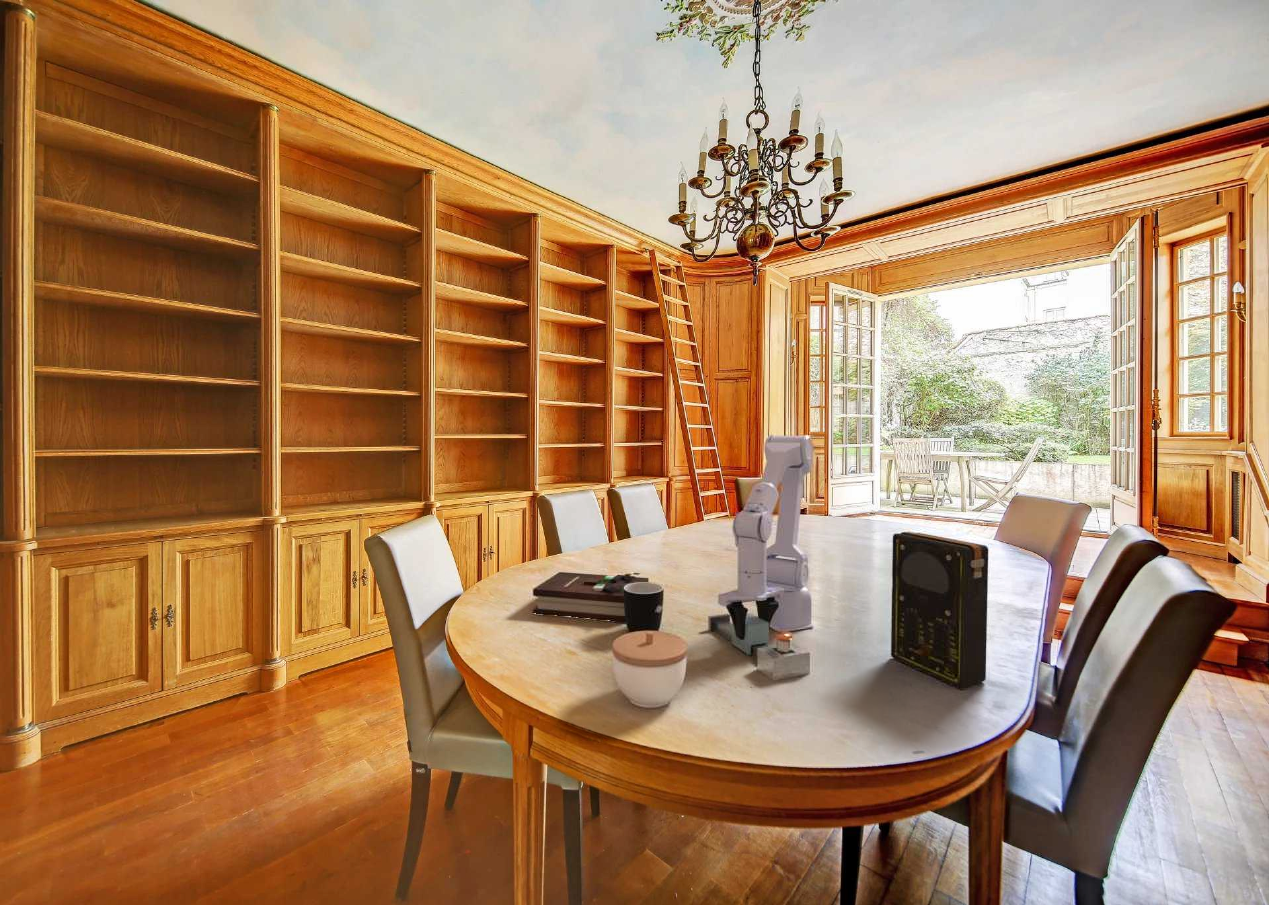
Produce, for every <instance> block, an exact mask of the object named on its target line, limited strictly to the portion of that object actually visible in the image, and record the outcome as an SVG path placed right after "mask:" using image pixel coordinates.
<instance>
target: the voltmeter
mask: <svg viewBox="0 0 1269 905" xmlns="http://www.w3.org/2000/svg"><path fill="white" fill-rule="evenodd" d="M891 560H892V562H891V563H892V564H891V565H892V567H891V578H892V579H891V580H892V582H891V586H892V587H891V621H890V622H891V625H890V628H891V629H890V630H891V631H890V633H891V634H890V638H891V640H890V655H891V658H892V657H893V658H894V660H895V659H896V661H898V662H900V663H902V662H903V663H902V664H904V663H905V664H904V665H906V664H907V666H909V667H911V668H913V669H915V670H917V669H918V670H917V671H919V672H922V673H924V674H927V675H929V676H930V675H931V676H930V677H933V678H935V679H938V680H939V679H940V680H939V681H941V682H944V683H946V684H948V683H949V684H948V685H950V686H952V685H953V686H952V687H955V688H957V689H959V690H966V688H967V686H971V685H972V686H973V685H975V684H978V683H981V682H984V681H985V680H987V676H986V675H987V640H988V639H987V638H988V637H987V636H988V634H987V632H988V593H989V591H988V587H989V583H988V582H989V547H988V546H987V545H985V544H979V543H975V542H969V541H964V540H959V539H953V538H949V537H943V536H938V535H932V534H927V533H926V534H925V533H923V532H922V533H921V532H913V531H902V532H900V533H893V535H892V559H891Z"/></svg>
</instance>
